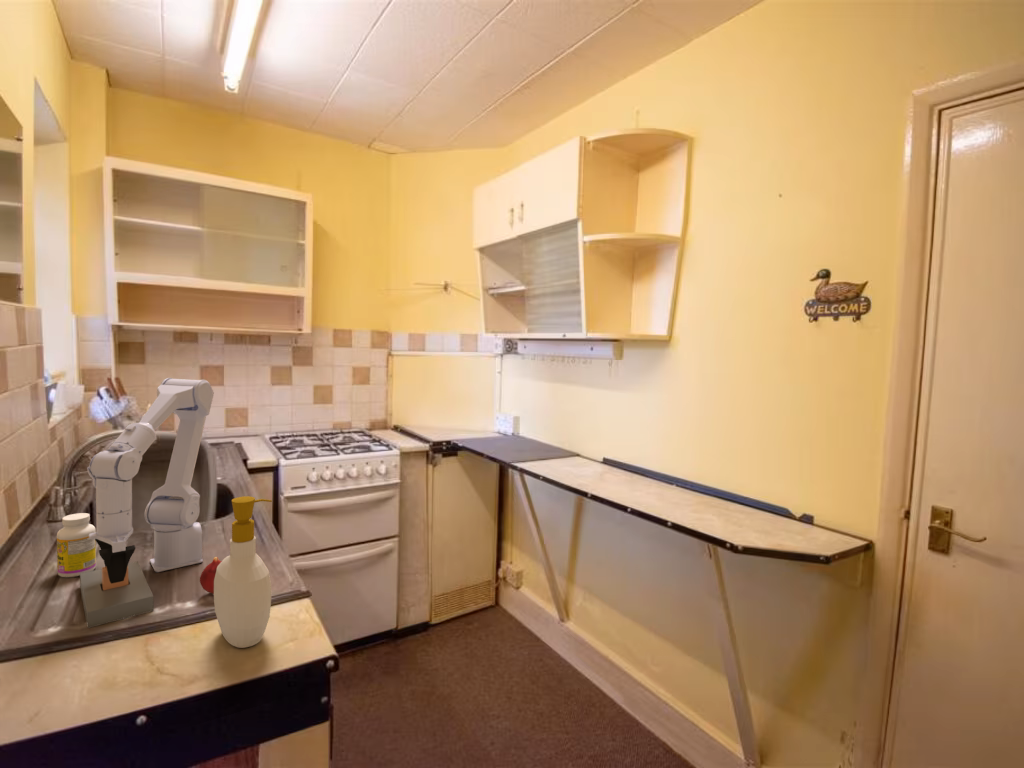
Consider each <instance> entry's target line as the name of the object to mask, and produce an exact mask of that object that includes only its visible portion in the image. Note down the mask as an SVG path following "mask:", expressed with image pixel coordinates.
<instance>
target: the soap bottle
mask: <svg viewBox="0 0 1024 768" xmlns="http://www.w3.org/2000/svg"><path fill="white" fill-rule="evenodd" d="M261 502H267V503H272V502H273V500H272V499H266V498H258V499H256V498H255V497H253V496H251V495H250V496H249V495H248V496H247V495H246V496H245V495H244V496H239V497H234V498H232V499H231V505H232V510H233V517H234V521H233V522H232V523H231V538H230V539H229V555H227V556H225V557H224V558H223V559H222V560H221V561H222V562H221V563H220V564H219V565H218V566H217V570H216V574H215V579H214V594H213V602H214V605H213V606H214V612H215V613H214V614H215V616H216V619H217V623H218V626H219V628H220V631H221V634H222V636H223V638H224V639H225V640H226V641H227V642H228V644H230V645H231V646H233V647H236V648H243V649H244V648H248V647H253V646H255V645H257V644H258V643H260V642H261V641H262V639H263V636H264V635H265V631H266V629H267V625H268V623H269V619H270V616H271V615H270V614H271V606H272V580H271V576H270V570H269V569H268V567H267V566H266V564H265V562H264V561H263V559H262V558H261V557H260V556H259V555H258V553H256V550H257V549H256V547H257V546H256V543H257V540H256V539H257V538H256V536H255V520H254V519H252V517H253V512H254V507H255V503H261Z"/></svg>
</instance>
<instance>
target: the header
mask: <svg viewBox="0 0 1024 768" xmlns="http://www.w3.org/2000/svg"><path fill="white" fill-rule="evenodd" d="M79 588H80V595H81V601H82V604H83V609H84V615H85V621H86V625H87V629H89V628H93V627H97V626H100V625H104V624H109V623H112V622H116V621H120V620H123V618H124V619H127V618H130V617H134V616H138V615H142V614H145V613H149V612H152V611H153V612H154V594H153V592H152V590H151V587H150V585H149V583H148V581H147V579H146V576H145V573H144V572H143V570H142V567H141V565H140V562H139V561H138V560H137V561H134V562H133V561H131V562H129V563H128V585H125V586H121V587H116V588H112V589H108V590H103V591H102V568H98V569H94V570H93V571H88V572H83V573H80V576H79ZM108 622H109V623H108Z"/></svg>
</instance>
